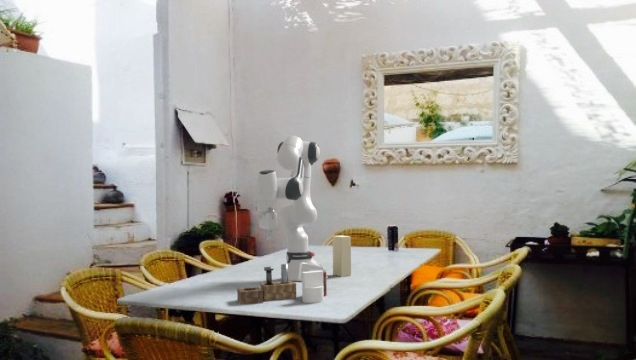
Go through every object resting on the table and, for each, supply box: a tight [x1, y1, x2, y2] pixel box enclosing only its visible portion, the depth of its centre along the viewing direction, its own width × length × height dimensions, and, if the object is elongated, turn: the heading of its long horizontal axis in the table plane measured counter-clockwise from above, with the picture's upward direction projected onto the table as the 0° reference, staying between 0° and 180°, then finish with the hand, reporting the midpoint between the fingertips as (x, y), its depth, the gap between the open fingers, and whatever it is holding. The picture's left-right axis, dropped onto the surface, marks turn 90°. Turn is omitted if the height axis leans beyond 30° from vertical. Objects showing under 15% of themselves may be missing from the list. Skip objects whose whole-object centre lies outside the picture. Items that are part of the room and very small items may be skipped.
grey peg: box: [280, 263, 289, 284], centre depth 228 cm, size 3×3×14 cm
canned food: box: [309, 268, 328, 297], centre depth 230 cm, size 8×8×11 cm
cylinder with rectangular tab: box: [301, 270, 325, 304], centre depth 220 cm, size 9×9×12 cm
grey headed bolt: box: [263, 266, 274, 285], centre depth 226 cm, size 4×4×8 cm
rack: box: [236, 286, 264, 305], centre depth 220 cm, size 9×9×5 cm
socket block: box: [259, 280, 297, 301], centre depth 227 cm, size 14×8×6 cm, turn 108°
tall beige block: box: [332, 234, 352, 277], centre depth 282 cm, size 8×7×21 cm
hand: (268, 239), depth 226 cm, fingers closed
